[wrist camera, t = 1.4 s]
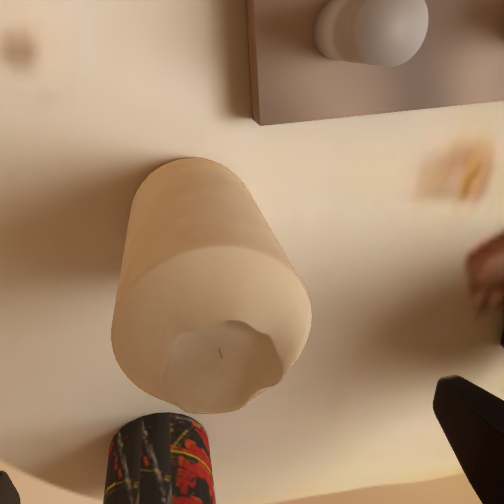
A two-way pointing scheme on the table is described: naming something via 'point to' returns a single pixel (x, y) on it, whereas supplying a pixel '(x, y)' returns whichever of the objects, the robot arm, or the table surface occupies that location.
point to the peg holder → (371, 56)
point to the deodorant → (160, 462)
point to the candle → (205, 292)
